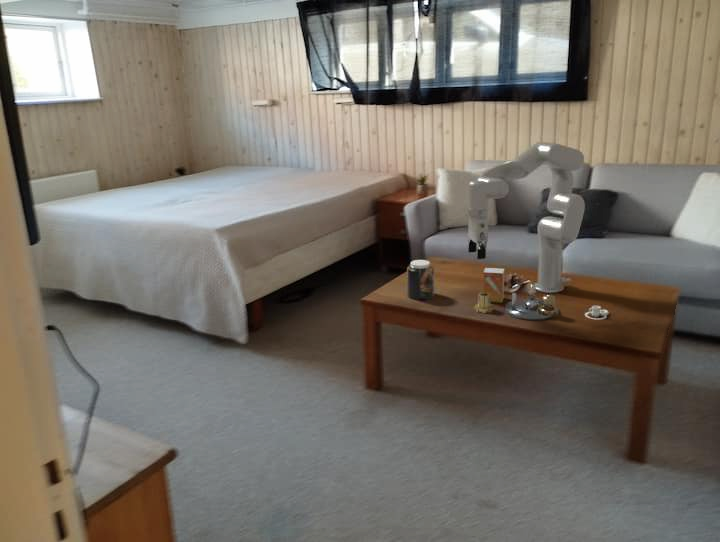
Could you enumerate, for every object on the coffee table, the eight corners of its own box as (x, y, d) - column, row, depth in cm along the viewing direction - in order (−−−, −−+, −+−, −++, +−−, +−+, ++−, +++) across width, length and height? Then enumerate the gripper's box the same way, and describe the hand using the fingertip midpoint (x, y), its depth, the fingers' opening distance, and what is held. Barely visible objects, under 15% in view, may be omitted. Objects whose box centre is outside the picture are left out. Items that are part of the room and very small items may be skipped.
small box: (482, 301, 250) (483, 272, 246) (484, 296, 255) (484, 267, 251) (502, 303, 247) (503, 273, 243) (503, 297, 253) (504, 268, 249)
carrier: (542, 299, 249) (542, 280, 247) (567, 316, 230) (569, 296, 228) (497, 304, 245) (497, 286, 243) (519, 323, 227) (520, 303, 224)
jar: (404, 299, 257) (403, 266, 252) (410, 290, 267) (409, 258, 263) (432, 300, 253) (431, 267, 249) (436, 291, 264) (436, 259, 259)
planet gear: (488, 305, 246) (489, 290, 244) (496, 311, 239) (496, 296, 237) (471, 307, 244) (471, 292, 242) (478, 314, 237) (479, 298, 235)
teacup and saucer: (607, 313, 233) (608, 303, 232) (610, 321, 226) (611, 311, 224) (583, 312, 235) (584, 302, 234) (585, 320, 228) (586, 310, 226)
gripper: (495, 216, 224) (494, 260, 229) (478, 207, 240) (477, 248, 245) (476, 218, 223) (475, 262, 228) (460, 209, 239) (460, 250, 244)
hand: (476, 255), depth 237 cm, fingers open, 9 cm apart
